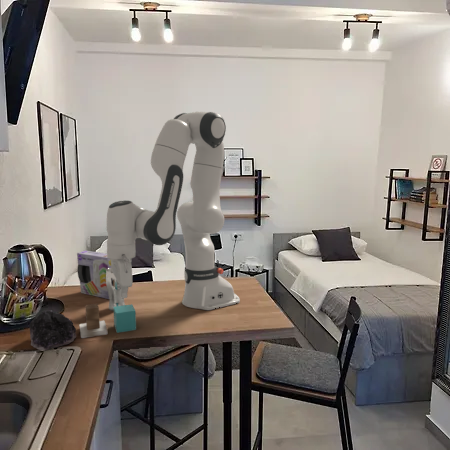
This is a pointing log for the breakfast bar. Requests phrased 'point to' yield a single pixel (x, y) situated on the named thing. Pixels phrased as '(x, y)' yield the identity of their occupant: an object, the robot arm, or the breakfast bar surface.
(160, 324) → the breakfast bar surface
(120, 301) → the beer glass
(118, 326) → the turquoise cube
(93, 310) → the square base with post
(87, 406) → the breakfast bar surface
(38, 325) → the dark grey rock
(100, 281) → the cake pan box
